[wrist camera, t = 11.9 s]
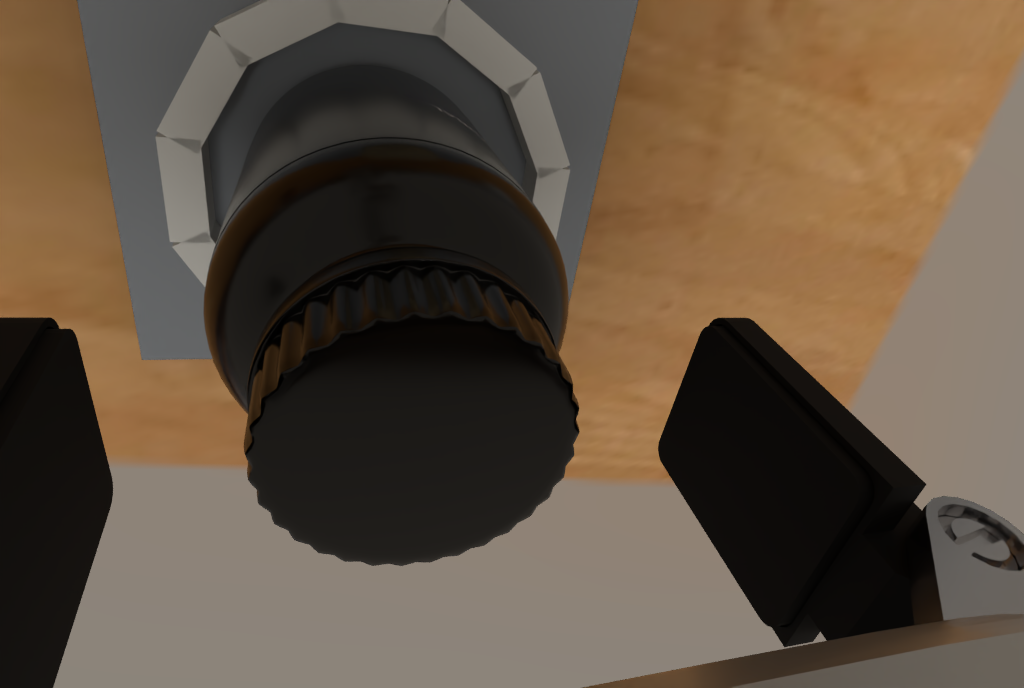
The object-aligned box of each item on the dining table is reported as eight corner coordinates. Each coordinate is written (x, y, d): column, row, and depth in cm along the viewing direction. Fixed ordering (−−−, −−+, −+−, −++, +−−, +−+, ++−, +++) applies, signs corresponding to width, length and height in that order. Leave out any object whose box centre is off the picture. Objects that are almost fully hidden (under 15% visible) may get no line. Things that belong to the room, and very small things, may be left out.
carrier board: (-68, -922, 9) (-478, -1835, 4) (740, -533, 13) (980, -786, 9) (148, 342, 21) (99, 471, 16) (549, 339, 25) (606, 441, 20)
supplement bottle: (508, 90, 18) (728, 280, 9) (455, 297, 21) (572, 602, 12) (252, 26, 16) (158, 191, 6) (237, 269, 19) (159, 627, 9)
